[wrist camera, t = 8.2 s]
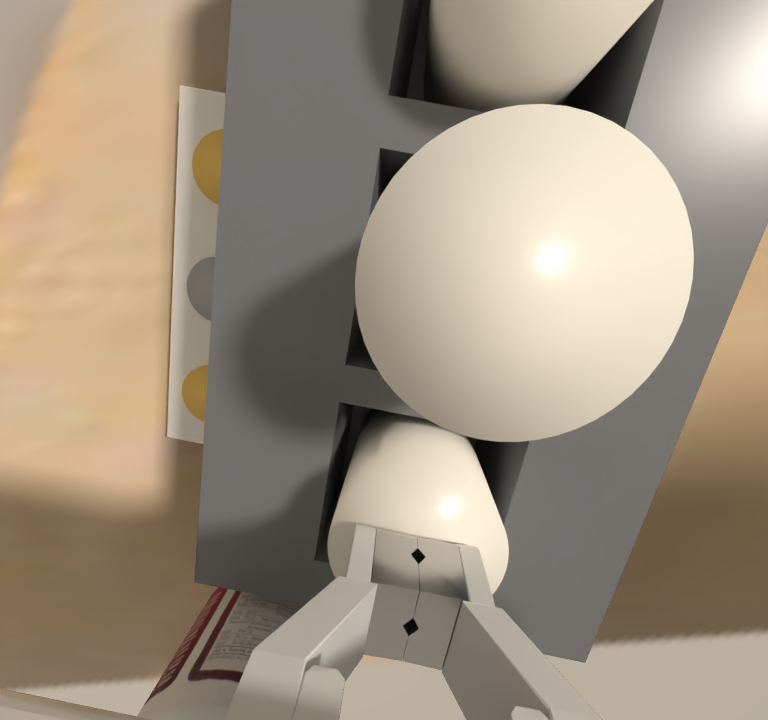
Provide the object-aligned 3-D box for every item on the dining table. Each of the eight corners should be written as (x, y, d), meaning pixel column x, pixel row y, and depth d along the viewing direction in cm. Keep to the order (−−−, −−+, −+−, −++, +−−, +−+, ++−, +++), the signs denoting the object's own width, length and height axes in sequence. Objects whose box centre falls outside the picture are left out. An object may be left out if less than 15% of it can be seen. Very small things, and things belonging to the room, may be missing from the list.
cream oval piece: (578, 12, 11) (764, -273, 5) (538, 165, 12) (658, 66, 6) (439, -11, 11) (473, -317, 5) (411, 142, 12) (415, 24, 6)
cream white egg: (552, 217, 10) (752, 138, 4) (510, 366, 11) (625, 467, 5) (398, 189, 10) (385, 74, 4) (372, 340, 11) (333, 410, 5)
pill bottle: (273, 625, 19) (92, 1098, 8) (221, 531, 18) (-74, 936, 7) (380, 596, 18) (339, 1084, 7) (333, 495, 17) (197, 895, 6)
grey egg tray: (714, -24, 12) (974, -277, 6) (528, 540, 17) (585, 662, 12) (323, -89, 12) (255, -386, 7) (260, 486, 17) (194, 581, 12)
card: (293, 111, 13) (286, 101, 13) (258, 448, 17) (251, 456, 16) (189, 93, 13) (176, 82, 13) (175, 431, 17) (163, 439, 16)
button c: (479, 401, 14) (530, 492, 8) (454, 499, 15) (483, 641, 9) (368, 380, 14) (341, 455, 8) (351, 478, 15) (316, 606, 9)
